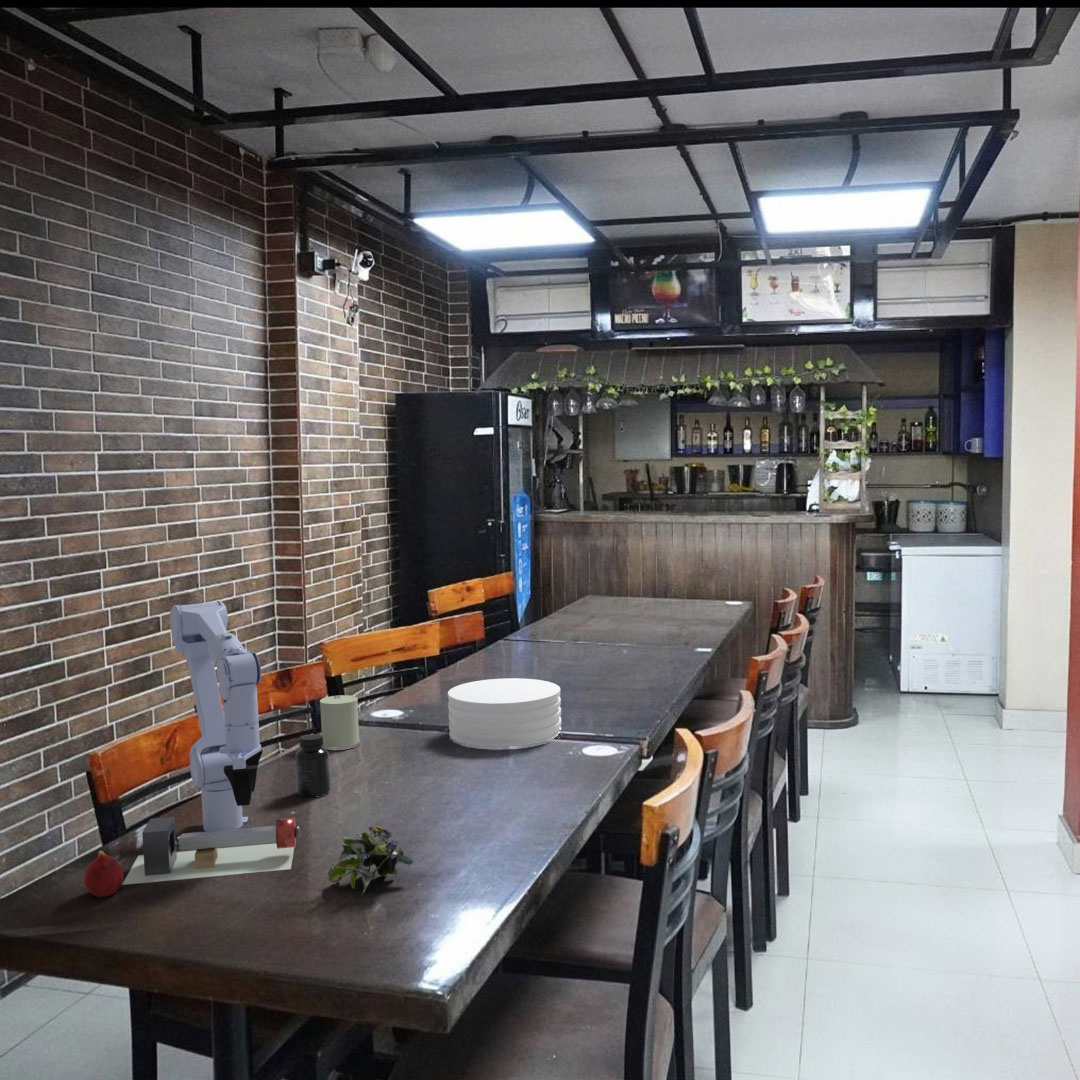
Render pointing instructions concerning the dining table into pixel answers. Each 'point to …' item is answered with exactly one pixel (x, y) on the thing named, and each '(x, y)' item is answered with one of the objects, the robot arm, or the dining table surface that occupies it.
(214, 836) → the rod
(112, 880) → the red kuri squash
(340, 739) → the can
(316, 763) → the supplement bottle
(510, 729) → the plate stack
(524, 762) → the dining table surface
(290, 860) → the board
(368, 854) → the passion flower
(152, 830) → the block
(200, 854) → the brown rectangular block
